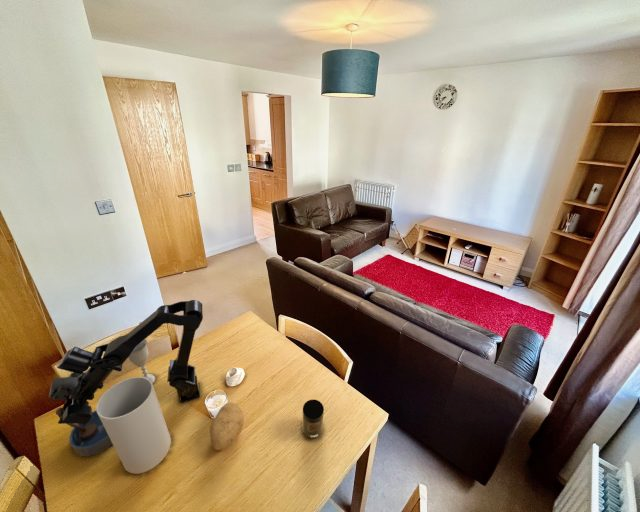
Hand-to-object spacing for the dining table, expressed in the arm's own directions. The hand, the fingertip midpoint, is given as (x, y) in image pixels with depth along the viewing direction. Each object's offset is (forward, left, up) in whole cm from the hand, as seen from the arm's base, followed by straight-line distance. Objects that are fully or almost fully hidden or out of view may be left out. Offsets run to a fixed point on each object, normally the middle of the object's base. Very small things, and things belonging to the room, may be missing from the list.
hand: (60, 419), depth 82 cm
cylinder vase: (-23, +14, -9) cm, 28 cm away
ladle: (-4, +1, -8) cm, 9 cm away
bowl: (-8, +2, -9) cm, 12 cm away
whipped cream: (-51, -3, -9) cm, 52 cm away
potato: (-46, +18, -9) cm, 50 cm away
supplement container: (-72, +27, -9) cm, 77 cm away
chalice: (-20, -15, -9) cm, 26 cm away
